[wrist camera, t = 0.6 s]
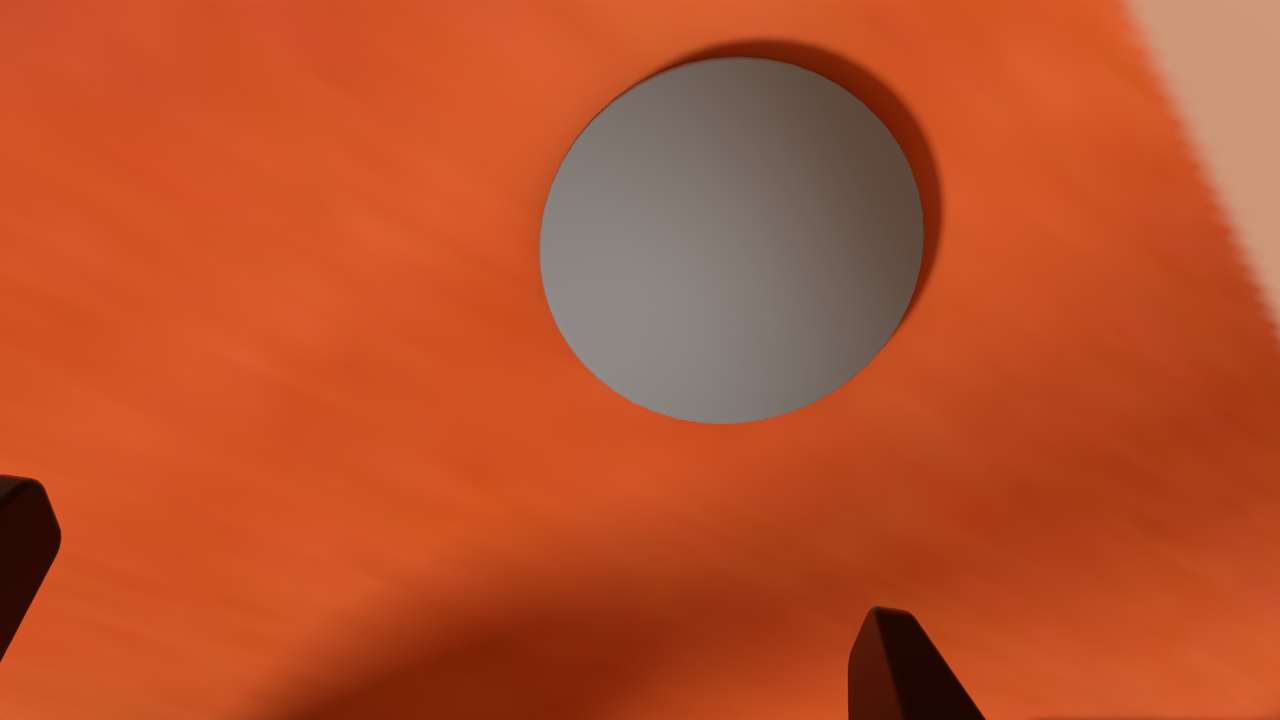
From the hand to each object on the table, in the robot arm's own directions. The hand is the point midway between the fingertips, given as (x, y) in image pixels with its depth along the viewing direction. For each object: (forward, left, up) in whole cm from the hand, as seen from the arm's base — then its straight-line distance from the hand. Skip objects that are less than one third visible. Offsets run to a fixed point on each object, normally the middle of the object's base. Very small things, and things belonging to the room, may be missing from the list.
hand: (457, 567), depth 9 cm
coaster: (+2, -4, -15) cm, 15 cm away
